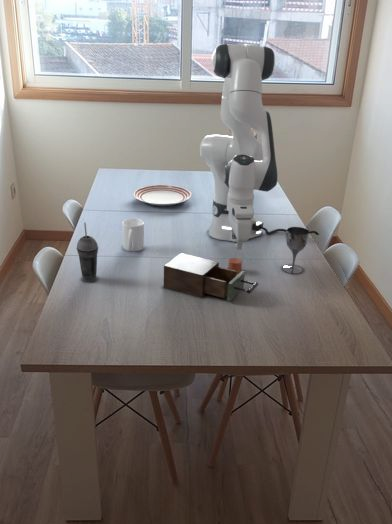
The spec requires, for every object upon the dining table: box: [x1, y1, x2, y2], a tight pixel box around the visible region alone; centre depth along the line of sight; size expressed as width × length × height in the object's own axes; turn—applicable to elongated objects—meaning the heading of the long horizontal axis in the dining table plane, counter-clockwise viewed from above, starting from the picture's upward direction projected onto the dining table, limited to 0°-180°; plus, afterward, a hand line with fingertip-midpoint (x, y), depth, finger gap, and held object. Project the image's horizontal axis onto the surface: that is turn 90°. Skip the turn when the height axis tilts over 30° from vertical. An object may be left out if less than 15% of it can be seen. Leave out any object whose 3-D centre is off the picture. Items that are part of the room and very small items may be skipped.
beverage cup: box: [76, 222, 99, 283], centre depth 196 cm, size 7×7×20 cm
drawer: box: [203, 266, 259, 302], centre depth 193 cm, size 19×11×6 cm, turn 64°
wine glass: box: [282, 226, 310, 274], centre depth 211 cm, size 8×8×15 cm
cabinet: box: [163, 252, 220, 298], centre depth 198 cm, size 15×13×8 cm
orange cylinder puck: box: [227, 257, 243, 275], centre depth 210 cm, size 5×5×4 cm
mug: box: [121, 218, 145, 253], centre depth 222 cm, size 12×8×10 cm
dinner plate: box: [133, 184, 192, 207], centre depth 276 cm, size 28×27×3 cm
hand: (236, 243), depth 205 cm, fingers open, 8 cm apart
